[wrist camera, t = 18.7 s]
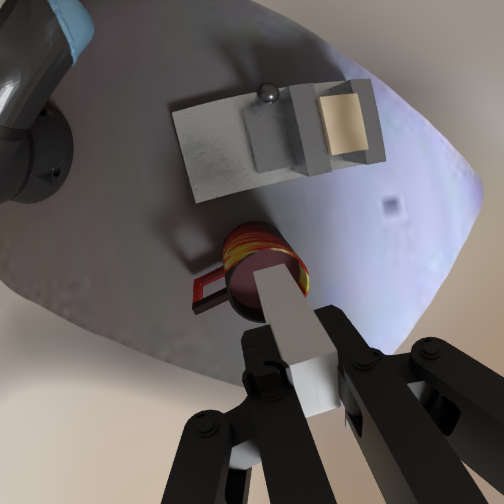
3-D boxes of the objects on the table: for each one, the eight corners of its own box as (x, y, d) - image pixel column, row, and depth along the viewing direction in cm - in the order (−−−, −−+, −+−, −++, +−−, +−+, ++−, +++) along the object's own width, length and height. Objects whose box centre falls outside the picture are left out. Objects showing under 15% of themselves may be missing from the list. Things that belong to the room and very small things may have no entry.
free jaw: (258, 179, 40) (269, 187, 32) (238, 97, 35) (245, 84, 28) (313, 167, 40) (335, 172, 33) (294, 87, 36) (314, 74, 28)
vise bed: (196, 201, 41) (193, 214, 33) (173, 113, 36) (163, 105, 29) (363, 162, 42) (393, 167, 34) (346, 82, 38) (374, 71, 30)
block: (309, 153, 39) (332, 155, 32) (299, 105, 37) (319, 97, 29) (341, 147, 40) (368, 149, 32) (331, 101, 37) (357, 93, 30)
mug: (192, 278, 45) (188, 321, 34) (249, 207, 43) (264, 230, 31) (241, 310, 48) (251, 356, 37) (297, 246, 46) (325, 278, 34)
